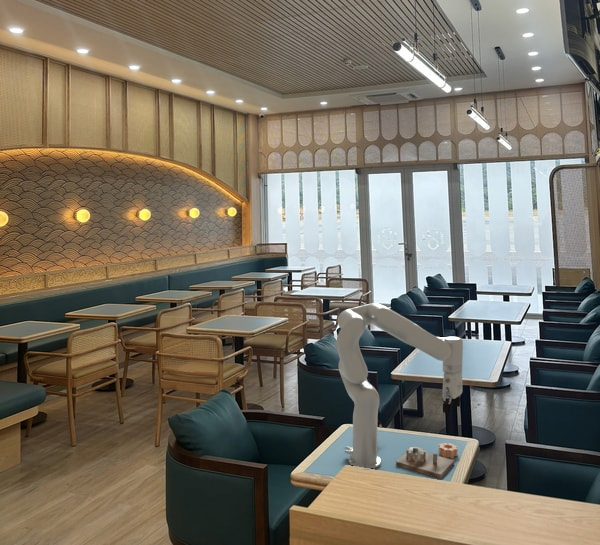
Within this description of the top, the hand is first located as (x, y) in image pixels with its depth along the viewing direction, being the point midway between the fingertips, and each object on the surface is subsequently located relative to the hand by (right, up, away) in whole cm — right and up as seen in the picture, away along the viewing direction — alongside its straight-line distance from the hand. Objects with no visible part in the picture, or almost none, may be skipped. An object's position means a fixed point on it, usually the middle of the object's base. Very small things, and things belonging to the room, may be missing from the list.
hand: (451, 409), depth 211 cm
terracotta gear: (-1, -19, +2) cm, 19 cm away
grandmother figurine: (-29, -18, +18) cm, 38 cm away
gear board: (-12, -20, -7) cm, 24 cm away
